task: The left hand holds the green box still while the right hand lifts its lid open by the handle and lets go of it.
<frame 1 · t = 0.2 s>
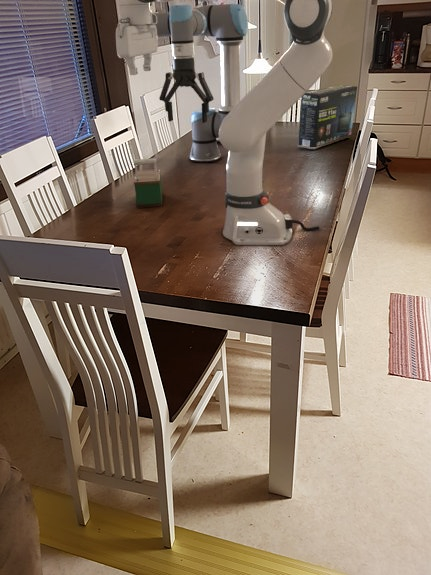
left hand: (187, 121, 169), 28 cm above the table, tool pointing down, fingers open, 13 cm apart
right hand: (140, 72, 133), 48 cm above the table, tool pointing down, fingers open, 8 cm apart
router box: (325, 143, 245), on the table
lid: (146, 167, 172), point 13 cm above the table, hinge at 0.0°
fossil: (227, 141, 256), on the table
green box: (150, 200, 179), on the table
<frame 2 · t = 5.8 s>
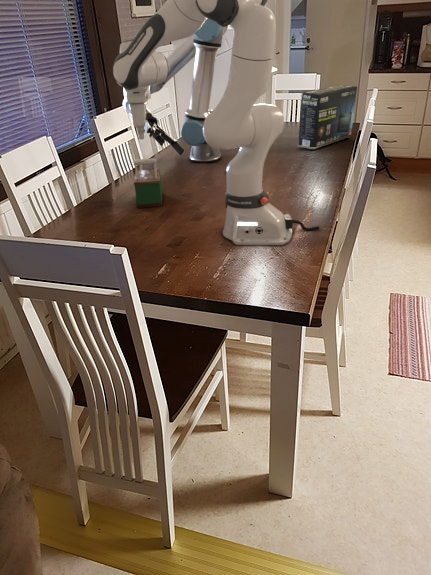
left hand: (173, 148, 196), 13 cm above the table, tool tilted 65°, fingers open, 13 cm apart
right hand: (142, 135, 162), 26 cm above the table, tool pointing down, fingers open, 8 cm apart
nothing on the table moved.
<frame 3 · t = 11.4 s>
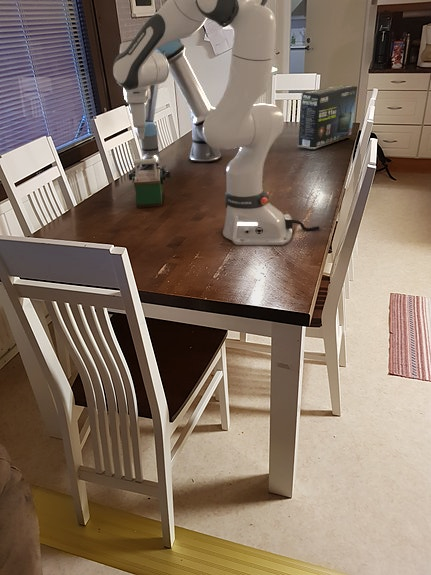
left hand: (148, 181, 178), 7 cm above the table, tool horizontal, fingers closed on green box, 9 cm apart
right hand: (142, 135, 162), 26 cm above the table, tool pointing down, fingers open, 8 cm apart
green box: (150, 200, 179), on the table, touching left hand
everything else where it was.
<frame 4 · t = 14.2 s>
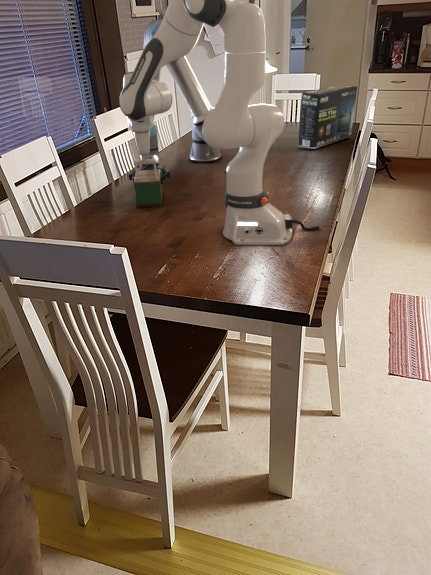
left hand: (148, 181, 178), 7 cm above the table, tool horizontal, fingers closed on green box, 9 cm apart
right hand: (145, 161, 167), 17 cm above the table, tool pointing down, fingers closed on lid, 2 cm apart
lid: (146, 167, 172), point 13 cm above the table, hinge at -0.1°, touching right hand
green box: (150, 200, 179), on the table, touching left hand
everything else where it was.
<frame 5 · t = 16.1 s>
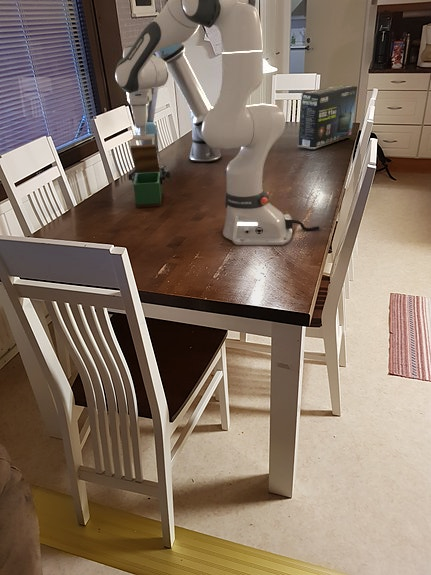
left hand: (148, 181, 178), 6 cm above the table, tool horizontal, fingers closed on green box, 9 cm apart
right hand: (143, 135, 172), 24 cm above the table, tool pointing down, fingers closed, pressing on lid
lid: (145, 151, 175), point 18 cm above the table, hinge at 54.3°, touching right hand
green box: (149, 200, 179), on the table, touching left hand
everything else where it was.
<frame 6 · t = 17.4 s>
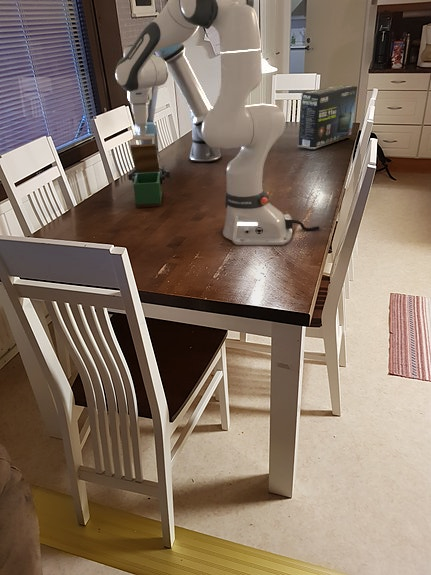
left hand: (148, 181, 178), 6 cm above the table, tool horizontal, fingers closed on green box, 9 cm apart
right hand: (143, 133, 174), 24 cm above the table, tool pointing down, fingers open, 5 cm apart
lid: (145, 151, 175), point 18 cm above the table, hinge at 55.5°, touching right hand
green box: (149, 200, 179), on the table, touching left hand
everything else where it was.
when the left hand's fingers open (7 cm above the table, at t = 20.6 s): green box stays where it is, on the table.
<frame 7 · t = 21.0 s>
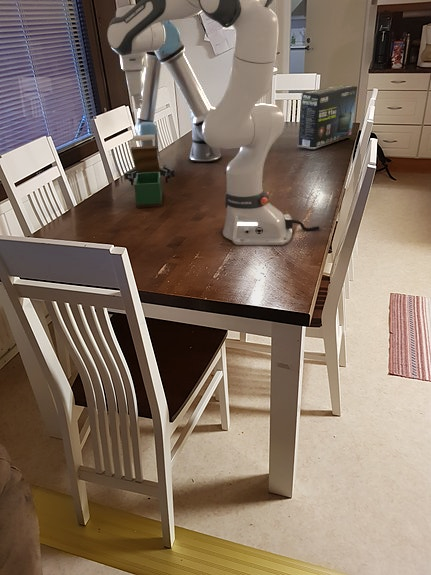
left hand: (149, 180, 179), 6 cm above the table, tool horizontal, fingers open, 13 cm apart
right hand: (139, 106, 159), 35 cm above the table, tool pointing down, fingers open, 8 cm apart
lid: (145, 151, 174), point 18 cm above the table, hinge at 51.8°
green box: (150, 200, 179), on the table
everything else where it was.
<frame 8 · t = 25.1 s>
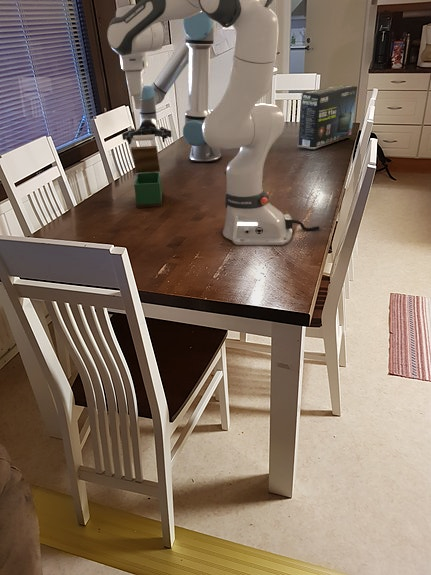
left hand: (146, 139, 183), 19 cm above the table, tool horizontal, fingers open, 13 cm apart
right hand: (139, 106, 159), 35 cm above the table, tool pointing down, fingers open, 8 cm apart
nothing on the table moved.
at the end: lid at +52° (first picture: +0°); the left hand is holding nothing; the right hand is holding nothing; green box tilted 0°; green box never tilted more than 1° during the clip; green box moved 0.1 cm from its start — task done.
